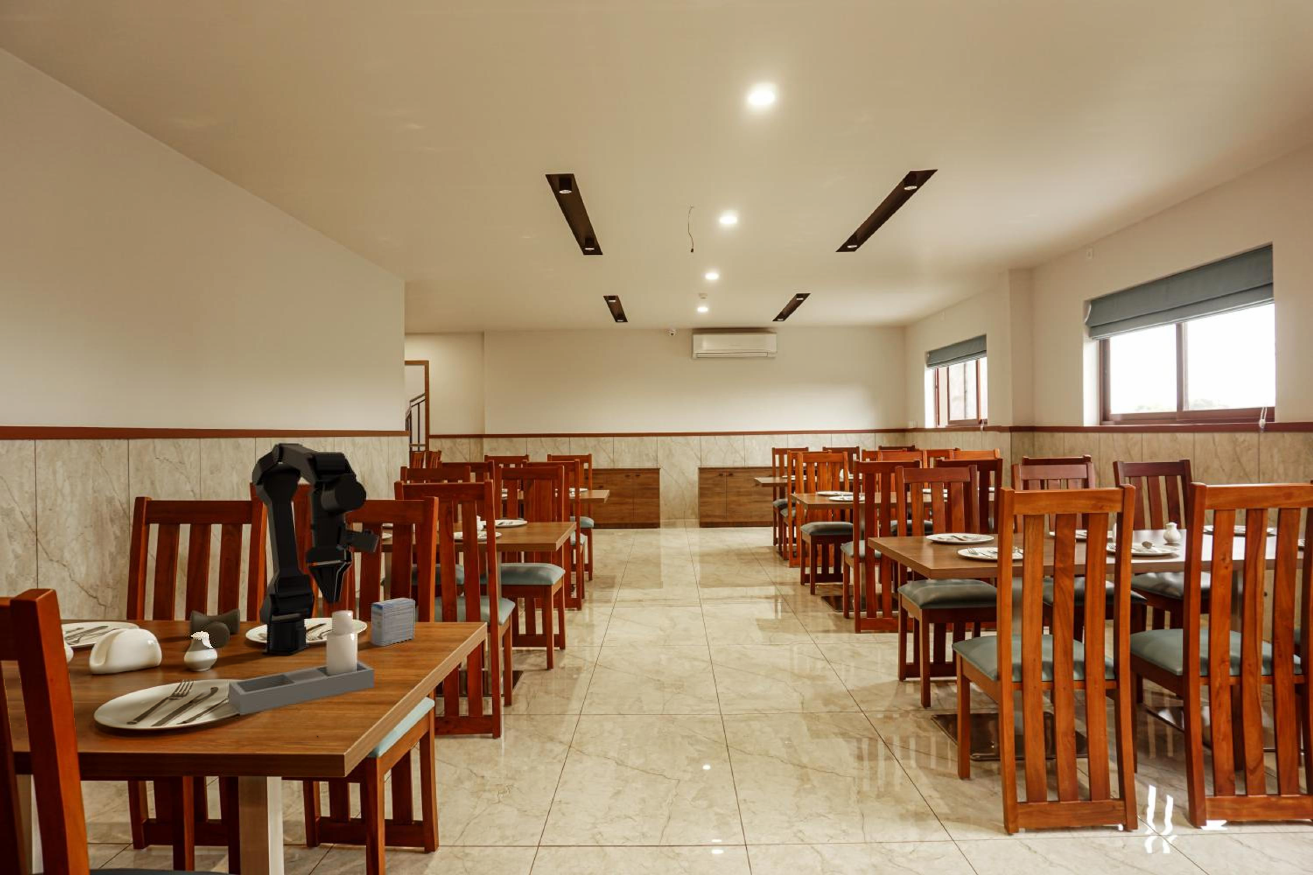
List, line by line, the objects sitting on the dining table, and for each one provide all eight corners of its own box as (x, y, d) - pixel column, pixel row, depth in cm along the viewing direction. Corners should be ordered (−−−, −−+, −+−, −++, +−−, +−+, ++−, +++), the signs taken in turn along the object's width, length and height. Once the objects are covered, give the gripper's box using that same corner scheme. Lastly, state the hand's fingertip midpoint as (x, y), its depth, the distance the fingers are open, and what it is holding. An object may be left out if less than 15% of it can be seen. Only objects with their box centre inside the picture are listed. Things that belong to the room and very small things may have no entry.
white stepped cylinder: (320, 690, 121) (321, 615, 121) (336, 681, 126) (337, 609, 126) (347, 691, 120) (348, 615, 121) (362, 682, 125) (363, 609, 125)
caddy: (228, 705, 115) (228, 682, 115) (356, 679, 129) (357, 659, 129) (240, 718, 109) (240, 694, 109) (373, 690, 123) (374, 669, 123)
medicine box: (402, 636, 160) (403, 597, 160) (414, 639, 157) (415, 599, 158) (370, 643, 154) (370, 602, 154) (382, 647, 151) (383, 605, 151)
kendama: (187, 654, 147) (189, 631, 164) (241, 649, 152) (238, 627, 169) (188, 625, 147) (190, 605, 164) (243, 620, 152) (239, 601, 169)
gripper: (371, 508, 129) (377, 597, 126) (377, 517, 146) (382, 596, 144) (302, 515, 125) (307, 607, 123) (316, 524, 143) (321, 604, 140)
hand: (333, 603), depth 132 cm, fingers open, 9 cm apart
